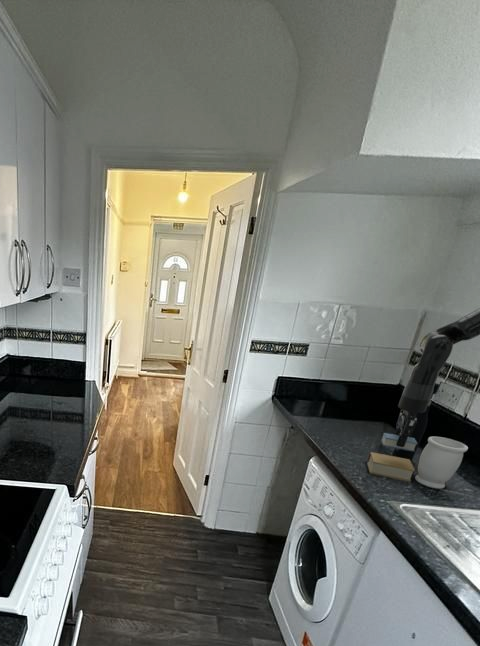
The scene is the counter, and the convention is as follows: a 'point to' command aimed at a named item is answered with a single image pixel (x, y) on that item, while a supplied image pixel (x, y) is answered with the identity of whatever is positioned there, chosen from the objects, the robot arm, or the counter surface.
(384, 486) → the counter surface
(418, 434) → the wine bottle
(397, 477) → the big book
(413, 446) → the pocket book
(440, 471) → the jar
